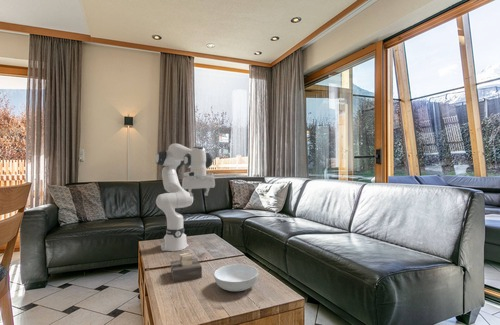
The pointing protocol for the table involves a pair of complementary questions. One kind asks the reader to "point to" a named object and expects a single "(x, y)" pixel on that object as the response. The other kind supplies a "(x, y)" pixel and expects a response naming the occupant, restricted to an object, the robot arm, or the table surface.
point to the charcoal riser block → (186, 271)
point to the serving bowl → (236, 277)
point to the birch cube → (185, 259)
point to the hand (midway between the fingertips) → (199, 196)
